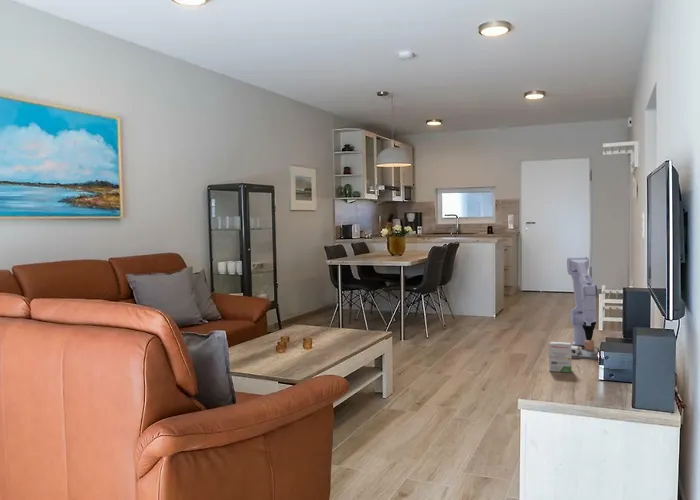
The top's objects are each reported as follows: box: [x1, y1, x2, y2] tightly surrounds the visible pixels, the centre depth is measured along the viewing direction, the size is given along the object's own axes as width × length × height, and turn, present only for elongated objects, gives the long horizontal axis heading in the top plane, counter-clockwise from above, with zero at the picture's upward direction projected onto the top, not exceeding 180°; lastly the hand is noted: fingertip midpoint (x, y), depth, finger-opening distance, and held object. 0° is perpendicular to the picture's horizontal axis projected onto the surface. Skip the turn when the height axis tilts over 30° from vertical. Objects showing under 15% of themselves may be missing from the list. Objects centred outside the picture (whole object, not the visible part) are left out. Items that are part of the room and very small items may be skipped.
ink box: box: [548, 341, 573, 374], centre depth 243 cm, size 8×5×12 cm, turn 65°
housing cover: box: [571, 344, 579, 355], centre depth 268 cm, size 6×5×3 cm
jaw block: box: [584, 339, 595, 350], centre depth 276 cm, size 4×4×5 cm
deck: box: [571, 346, 599, 360], centre depth 269 cm, size 14×14×4 cm
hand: (589, 338), depth 276 cm, fingers open, 7 cm apart
